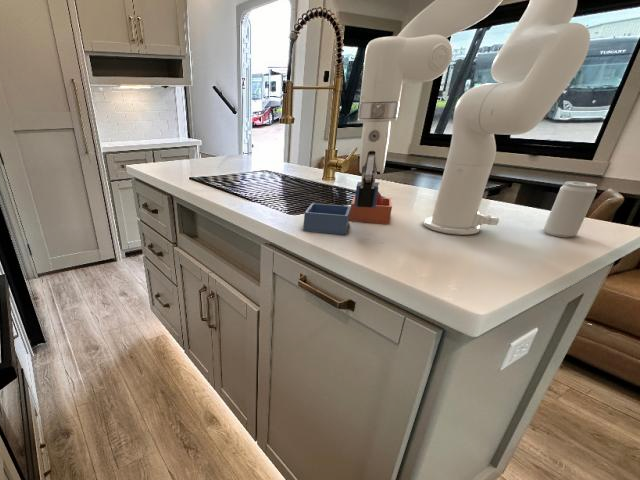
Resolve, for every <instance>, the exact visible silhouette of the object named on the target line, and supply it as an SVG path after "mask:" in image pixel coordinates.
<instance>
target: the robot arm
mask: <svg viewBox="0 0 640 480" xmlns="http://www.w3.org/2000/svg"><path fill="white" fill-rule="evenodd" d="M503 1H504V0H434V1H432V2H431V3H430V4H429V5H427V6H426V7H425V8H424V9H422V10H421V11H420V12H419V13H418V14H417V15H416V16H415V17H413V18H412V20H410V21H409V22H408V23H407V24H406V26H404V27H403V29H402V30H401V31H400V32H399V33H398V34H397V35H396V36H395V35H391V36H381V37H377V38H374V39H372V40H370V41H369V42H368V44H367V45H366V48H365V53H364V62H363V69H362V70H363V71H362V77H361V78H362V79H361V87H360V95H359V104H358V115H357V122H360V123H361V122H362V123H363V124H362V131H361V140H360V150H359V151H360V152H359V170H358V171H359V173H360V174H361V181H360V182H361V188H359V196H358V204H357V206H358V207H372V206H373V200H374V193H375V188H374V185H375V183H376V178H377V173H380V175H383V174H384V172H385V166H386V161H387V154H388V148H389V141H390V133H391V122H397V121H398V115H399V108H400V102H401V96H402V90H403V84H417V83H426V82H430V81H434V80H435V79H437V78H439V77H440V76H442V75H443V74H444V73H445V72H446V71H447V70H448V68H449V66H450V65H451V62H452V60H453V55H454V51H453V46H452V43H451V41H450V40H449V39H448V38H449V37H452V36H453V35H455V34H457V33H460V32H462V31H464V30H466V29H468V28H470V27H472V26H474V25H476V24H477V23H479V22H480V21H482V20H484V19H485V18H487V17H488V16H489V15H491V14H492V13H494V11H495V10H496V8H497V7H498V6H499V5H500V4H501V3H502V2H503ZM577 7H578V0H529V3H528V5H527V7H526V9H525V10H524V12H523V14H522V16H521V18H520V19H519V20H518V22H517V24H516V25H515V26H514V28H513V29H512V30H511V32H510V33H509V35H508V37H507V38H506V40H505V41H504V43H503V44H502V46H501V47H500V49H499V50H498V52H497V54H496V55H495V57H494V60H493V61H492V64H491V68H490V74H491V77H492V79H493V80H494V81H495V82H493V83H483V84H479V85H475V86H473V87H471V88H469V89H468V90H466V91H465V92H464V93H462V95H461V96H460V98H459V99H458V100H457V103H456V105H455V107H454V110H453V118H452V134H451V140H450V146H449V149H448V154H447V158H446V162H445V166H444V170H443V174H442V178H441V180H440V185H439V189H438V193H437V196H436V200H435V204H434V208H433V212H432V216H430V217H427V218H425V219H424V221H423V225H424V226H425V227H426V228H427V229H429V230H432V231H434V232H438V233H443V234H449V235H460V236H461V235H463V236H465V235H466V236H467V235H469V236H470V235H474V234H475V235H476V234H477V233H479V232H480V230H481V226H482V225H489V226H497V225H498V224H499V221H500V217H499V216H491V215H488V214H482V213H480V211H479V209H480V206H481V203H482V200H483V197H484V193H485V190H486V187H487V184H488V180H489V178H490V174H491V171H492V168H493V165H494V162H495V159H496V154H497V144H496V138H495V135H507V136H508V135H509V136H518V135H523V134H527V133H528V132H530V131H532V130H533V129H535V128H536V127H537V125H539V124H540V123H541V121H542V120H543V119H544V118H545V117H546V116H547V114H548V113H549V111H550V110H551V109H552V108H553V106H554V105H555V103H556V102H557V101H558V100H559V98H561V95H562V94H563V93H564V91H565V90H566V88H567V87H568V86H569V84H570V83H571V82H572V80H573V79H574V78H575V76H576V75H577V73H578V72H579V71H580V69H581V67H582V66H583V64H584V62H585V60H586V58H587V55H588V52H589V49H590V46H591V33H590V30H589V28H588V27H586V26H585V25H584V24H583V23H580V22H571V20H572V18H573V17H574V15H575V13H576V11H577ZM371 187H372V188H371Z"/></svg>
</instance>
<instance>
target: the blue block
mask: <svg viewBox="0 0 640 480" xmlns="http://www.w3.org/2000/svg"><path fill="white" fill-rule="evenodd" d="M379 187H380V182H375V185H374V188H375V193H374V200H373V206H372V207H371V208H375V207H376V201H377V194H378V192H379ZM359 188H361V181H358V182H357V184H356V188H355V195H354V196H355V204H354V207H358V206H357V204H358V196H359ZM371 188H372V187H371Z"/></svg>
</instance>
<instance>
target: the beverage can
mask: <svg viewBox="0 0 640 480" xmlns="http://www.w3.org/2000/svg"><path fill="white" fill-rule="evenodd" d="M597 187H598V184H596V183H593V182H587V181H586V182H585V181H573V180H571V181H569V180H568V181H565V182H564V184H563V185H562V186H560V188H559V191H558V193H557V195H556V197H555V201H554V203H553V205H552V207H551V209H550V212H549V215H548V217H547V219H546V222H545V223H544V227H543V230H544V231H545V234H548V235H549V236H553V237H558V238H572V237H574V236H576V235H578V233H579V230H580V229H581V227H582V225H583V223H584V220H585V218H586V215H587V214H588V211H589V210H590V207H591V206H592V203H593V201H594V199H595V197H596V194H597V192H598V190H597Z"/></svg>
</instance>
